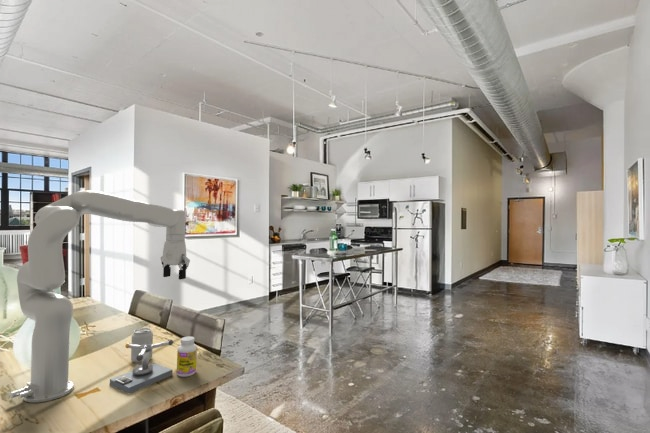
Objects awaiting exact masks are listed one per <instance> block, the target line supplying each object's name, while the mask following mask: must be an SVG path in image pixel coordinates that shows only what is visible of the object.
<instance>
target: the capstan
mask: <svg viewBox="0 0 650 433" xmlns="http://www.w3.org/2000/svg"><path fill="white" fill-rule="evenodd" d="M172 345H174V340H173V339H168V340H167V341H162V342H161V341H160V342H158V343H153V345H151V344H143V345H136V344H131V342H127V343H125V348H126V349H131V348H132V349H139V350H140V354H139V355H138V356H137V357H136V359H137V360H138V361H141V360H142V363H141V364H139V365H135V366H134V367H133V368H132V370H131V371H132V374H133V375H134V376H143V375H147V374H150V373H151V372H152V371H153V366H152V365H151V363H149V362H150V360H149V352H150V351H151V349H152V350H153V349H157V348H161V347H166V346H172Z"/></svg>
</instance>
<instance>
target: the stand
mask: <svg viewBox="0 0 650 433" xmlns="http://www.w3.org/2000/svg"><path fill="white" fill-rule="evenodd" d="M150 364H151V365H152V366H153V371H152V372H151V373H150V374H147V375H143V376H134V375H133V374H132V370H131V371H128V372H126V373H121V374H119V375H117V376H115V377H111V378H109V385H110V386H111V387H113V388H115V389H117V390H119V391H121V392H124V393H126V394H129V395H130V394H132V393H134V392H137V391H139V390H141V389H143V388H146V387H149V386H151V385H152V384H155V383H157V382H159V381H162V380H165V379H167V378H169V377H171V376H173V369H172V368H169V367H167V366H164V365H161V364H158V363H156V362H151V363H150Z"/></svg>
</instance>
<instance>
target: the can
mask: <svg viewBox="0 0 650 433" xmlns="http://www.w3.org/2000/svg"><path fill="white" fill-rule="evenodd" d="M153 339H154V332H153V331H152V328H149V327H141V328H138V329H137V328H136V329H134V330H133V333H132V334H131V342H130V344H136V345H143V344H151V345H153V344H154V343H153ZM139 354H140V350H139V349H132V348H130V360H131V361H132V362H133V363H135V364H142V360H141V361H138V360H137V359H136V357H137V356H138V355H139ZM152 358H153V349H151V351H150V352H149V361H150V360H151V359H152Z"/></svg>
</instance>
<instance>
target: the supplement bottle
mask: <svg viewBox="0 0 650 433" xmlns="http://www.w3.org/2000/svg"><path fill="white" fill-rule="evenodd" d="M197 351H198V346H197V344H195V337H194V336H192V335H191V336H184V337H181V338H180V345H179V346H178V347H177V351H176V352H177V353H176V356H177V358H176V359H177V360H176V375H177V376H178V377H181V378H182V377H183V378H185V377H191V376H193V375H195V374H196V371H197V360H198V359H197V355H198V354H197Z"/></svg>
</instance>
